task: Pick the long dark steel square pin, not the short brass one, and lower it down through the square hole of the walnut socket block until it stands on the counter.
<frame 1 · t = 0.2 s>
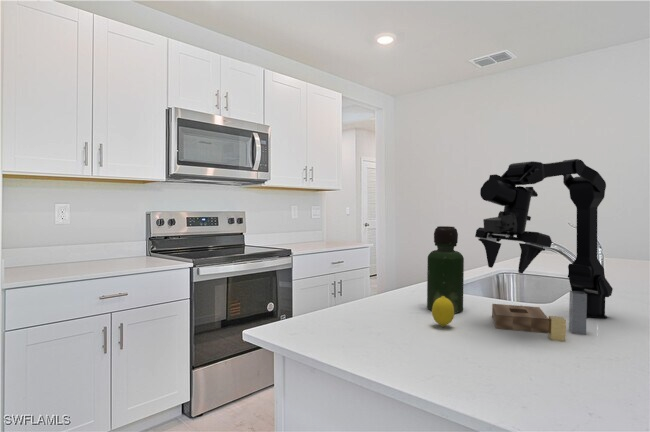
hand: (504, 270, 103), 15 cm above the counter, tool pointing down, fingers open, 9 cm apart
dark green bottle: (444, 310, 122), on the counter
lemon: (442, 327, 105), on the counter
long pin: (577, 332, 101), on the counter
socket block: (518, 323, 108), on the counter
short pin: (556, 338, 96), on the counter
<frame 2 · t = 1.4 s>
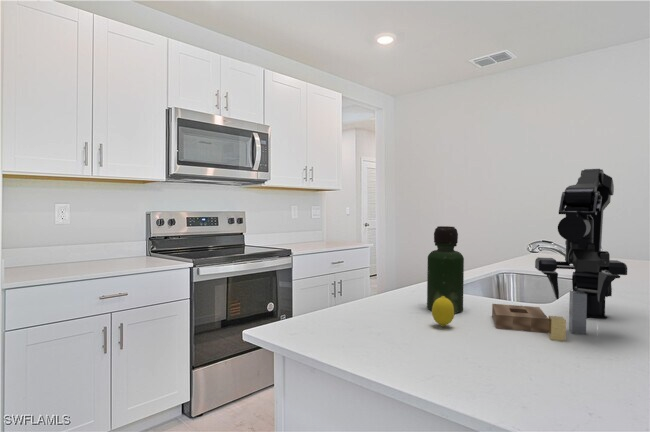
hand: (578, 300, 101), 8 cm above the counter, tool pointing down, fingers open, 9 cm apart
nothing on the counter moved.
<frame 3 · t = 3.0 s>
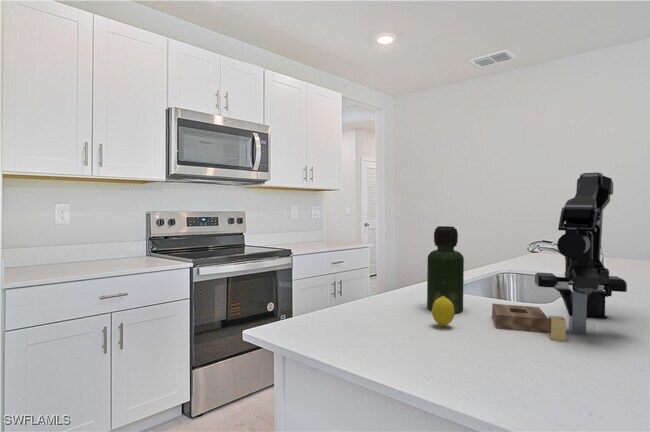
hand: (577, 316, 101), 4 cm above the counter, tool pointing down, fingers closed on long pin, 3 cm apart
long pin: (577, 332, 101), on the counter, touching gripper
everything else where it was.
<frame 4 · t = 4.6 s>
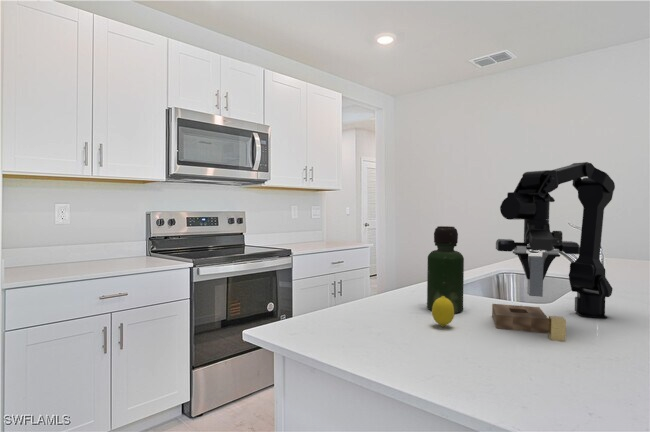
hand: (534, 279, 105), 12 cm above the counter, tool pointing down, fingers closed on long pin, 3 cm apart
long pin: (534, 295, 105), point 8 cm above the counter, touching gripper
everything else where it was.
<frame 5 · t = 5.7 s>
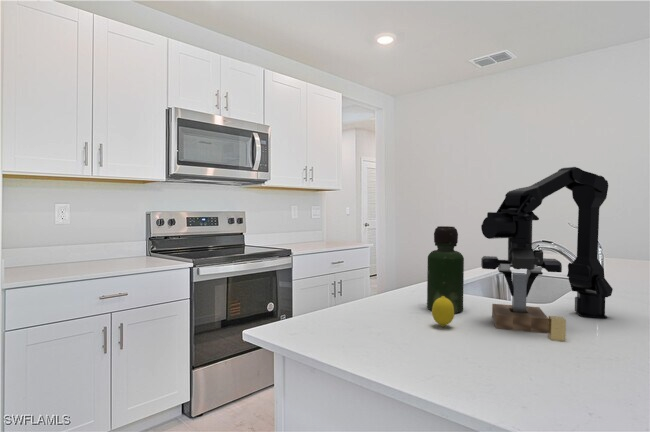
hand: (519, 296, 108), 7 cm above the counter, tool pointing down, fingers closed on long pin, 3 cm apart
long pin: (518, 311, 108), point 3 cm above the counter, touching gripper
everything else where it was.
when the fingers open (5 cm above the counter, at t = 6.6 s): long pin stays where it is, resting in socket block.
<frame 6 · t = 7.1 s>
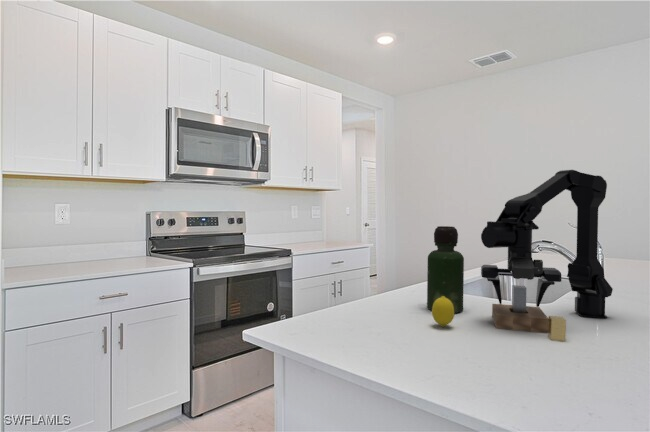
hand: (518, 305, 108), 5 cm above the counter, tool pointing down, fingers open, 9 cm apart
long pin: (518, 323, 108), resting in socket block
everything else where it was.
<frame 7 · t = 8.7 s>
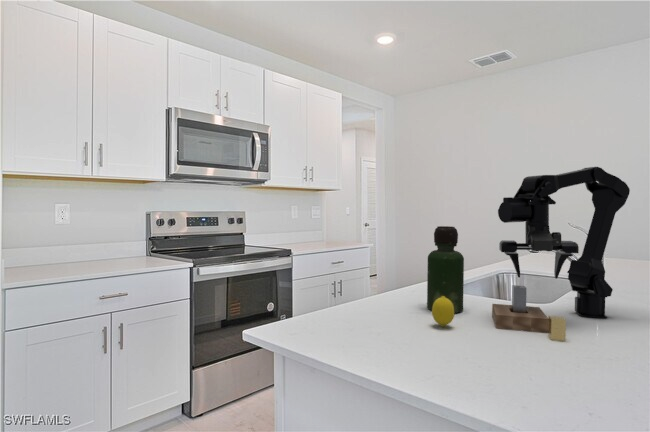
hand: (537, 277, 112), 12 cm above the counter, tool pointing down, fingers open, 9 cm apart
nothing on the counter moved.
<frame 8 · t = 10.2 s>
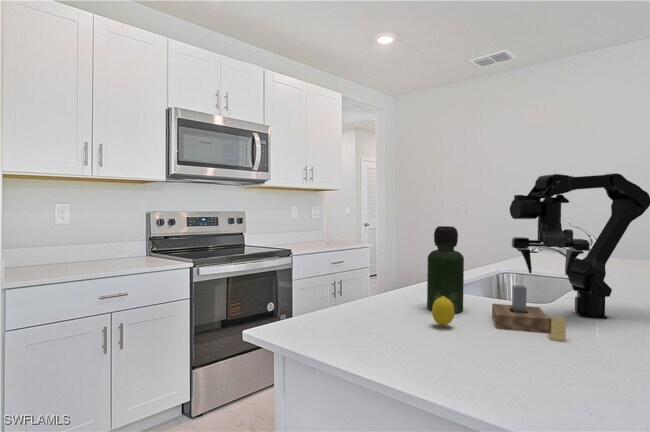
hand: (548, 274, 115), 12 cm above the counter, tool pointing down, fingers open, 9 cm apart
nothing on the counter moved.
at the end: long pin 0.1 cm off-centre on the socket block, point 0.0 cm above the socket block's base; long pin tilted 0°; short pin moved 0.1 cm from its start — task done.
